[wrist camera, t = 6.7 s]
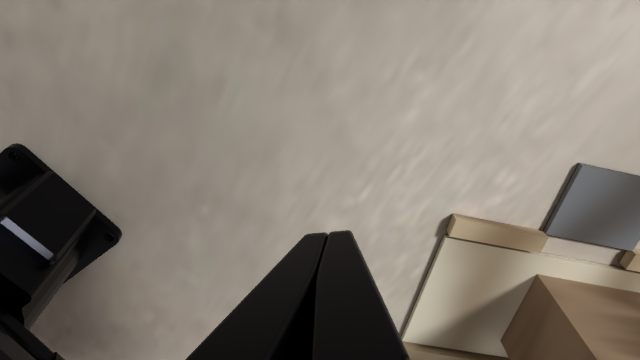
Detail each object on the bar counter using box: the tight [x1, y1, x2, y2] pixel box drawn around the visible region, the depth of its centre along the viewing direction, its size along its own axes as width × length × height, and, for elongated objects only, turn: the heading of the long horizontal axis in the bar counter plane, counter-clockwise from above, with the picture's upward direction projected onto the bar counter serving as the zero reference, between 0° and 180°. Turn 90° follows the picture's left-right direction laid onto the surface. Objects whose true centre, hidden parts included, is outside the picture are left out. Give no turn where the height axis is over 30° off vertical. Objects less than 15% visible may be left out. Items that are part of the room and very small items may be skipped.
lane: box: [401, 163, 640, 360], centre depth 25 cm, size 21×18×3 cm
